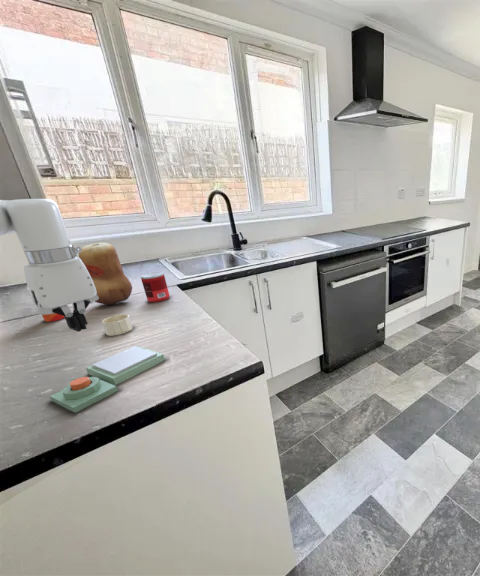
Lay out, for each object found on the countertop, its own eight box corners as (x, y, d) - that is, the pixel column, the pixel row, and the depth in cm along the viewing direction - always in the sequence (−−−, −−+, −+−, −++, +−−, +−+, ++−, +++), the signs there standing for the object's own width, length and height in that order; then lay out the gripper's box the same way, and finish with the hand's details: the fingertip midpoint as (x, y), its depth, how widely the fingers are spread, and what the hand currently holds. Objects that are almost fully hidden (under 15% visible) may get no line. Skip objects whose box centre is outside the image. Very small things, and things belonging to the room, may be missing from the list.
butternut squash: (84, 311, 119) (60, 248, 111) (107, 299, 132) (88, 241, 124) (123, 308, 121) (103, 246, 113) (143, 296, 134) (126, 239, 126)
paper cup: (35, 324, 109) (19, 287, 104) (47, 316, 115) (33, 281, 111) (64, 320, 112) (50, 284, 107) (74, 312, 118) (61, 278, 114)
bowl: (113, 337, 99) (109, 324, 97) (101, 333, 102) (97, 321, 100) (136, 328, 105) (133, 316, 103) (125, 324, 107) (121, 313, 106)
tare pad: (117, 390, 73) (114, 380, 72) (75, 413, 66) (70, 401, 65) (94, 381, 77) (90, 370, 76) (51, 401, 70) (46, 390, 69)
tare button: (94, 384, 71) (91, 378, 71) (76, 392, 69) (74, 386, 68) (86, 380, 73) (84, 375, 72) (69, 388, 70) (66, 383, 69)
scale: (115, 385, 75) (112, 376, 74) (88, 374, 80) (84, 365, 79) (165, 360, 85) (162, 352, 85) (138, 351, 90) (136, 343, 89)
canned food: (173, 295, 135) (167, 271, 131) (164, 301, 128) (157, 276, 124) (154, 296, 134) (147, 272, 130) (143, 303, 126) (136, 277, 123)
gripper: (84, 248, 77) (107, 315, 83) (-5, 262, 64) (29, 340, 70) (100, 250, 74) (123, 319, 80) (9, 265, 61) (44, 346, 67)
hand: (79, 329), depth 75 cm, fingers closed
